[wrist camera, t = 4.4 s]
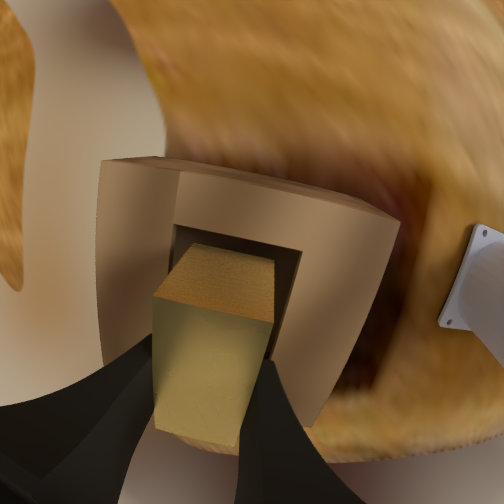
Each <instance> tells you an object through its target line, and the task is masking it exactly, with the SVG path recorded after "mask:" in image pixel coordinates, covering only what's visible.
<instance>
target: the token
mask: <svg viewBox="0 0 504 504" xmlns="http://www.w3.org/2000/svg"><path fill="white" fill-rule="evenodd" d="M273 324H274V260H272V259H267V258H262V257H258V256H253V255H248V254H244V253H239V252H234V251H230V250H225V249H220V248H216V247H211V246H206V245H202V244H197V243H193V244H192V245H191V246H190V248H189V249H188V250H187V251H186V253H185V254H184V255H183V257H182V258H181V259H180V260H179V262H178V263H177V264H176V266H175V267H174V268H173V270H172V271H171V272H170V274H169V275H168V276H167V277H166V279H165V280H164V281H163V283H162V284H161V285H160V287H159V288H158V289H157V291H156V292H155V293H154V295H153V314H152V374H153V401H154V418H155V428H156V429H160V430H163V431H167V432H170V433H174V434H177V435H181V436H185V437H189V438H193V439H197V440H202V441H206V442H211V443H216V444H221V445H226V446H231V447H234V446H235V443H236V440H237V437H238V434H239V431H240V428H241V425H242V422H243V419H244V416H245V413H246V410H247V407H248V404H249V401H250V398H251V395H252V392H253V389H254V386H255V383H256V380H257V376H258V373H259V370H260V367H261V364H262V360H263V357H264V354H265V351H266V347H267V344H268V341H269V337H270V334H271V331H272V327H273Z"/></svg>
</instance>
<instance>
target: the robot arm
mask: <svg viewBox="0 0 504 504" xmlns="http://www.w3.org/2000/svg"><path fill="white" fill-rule="evenodd" d="M483 231H484V234H483ZM482 234H483V235H482ZM448 320H449V322H448ZM438 324H439V325H440V326H441V327H445V328H453V329H461V330H469V331H473V333H474V334H475V335H476V336H477V337H478V338H479V339H480V340H481V342H482V343H483V344H484V345H485V346H486V347H487V349H488V350H489V351H490V352H491V353H492V354H493V356H494V357H495V358H496V359H497V361H498V362H499V363H500V364H501V365H502V367H503V368H504V234H503V233H500V232H498V231H496V230H494V229H492V228H489V227H487V226H485V225H482V224H480V223H478V224H476V225H475V226H474V228H473V232H472V235H471V238H470V241H469V244H468V247H467V250H466V253H465V256H464V259H463V261H462V264H461V267H460V269H459V272H458V275H457V277H456V280H455V282H454V285H453V287H452V289H451V292H450V294H449V296H448V299H447V301H446V303H445V305H444V308H443V310H442V312H441V314H440V316H439V318H438ZM153 411H154V401H153V374H152V333H151V334H149V335H147V336H146V337H145V338H144V339H142V340H141V341H140V342H138V343H137V344H136V345H134V346H133V347H132V348H130V349H129V350H128V351H126V352H125V353H123V354H122V355H121V356H119V357H118V358H116V359H115V360H113V361H112V362H110V363H109V364H107V365H106V366H104V367H103V368H101V369H99V370H98V371H96V372H94V373H93V374H91V375H89V376H88V377H86V378H84V379H82V380H80V381H78V382H76V383H74V384H72V385H70V386H68V387H66V388H63V389H61V390H59V391H56V392H53V393H51V394H48V395H45V396H42V397H39V398H36V399H33V400H29V401H25V402H21V403H17V404H12V405H7V406H0V504H118V500H119V496H120V493H121V489H122V486H123V483H124V479H125V476H126V473H127V470H128V467H129V464H130V461H131V458H132V455H133V453H134V451H135V448H136V446H137V444H138V442H139V440H140V438H141V436H142V434H143V432H144V430H145V428H146V426H147V424H148V422H149V420H150V418H151V415H152V413H153ZM238 470H239V471H238V483H237V489H236V496H235V503H234V504H366V503H365V502H364V501H362V500H361V499H360V498H359V497H358V496H357V495H356V494H355V493H354V492H353V491H351V490H350V489H349V488H348V487H347V486H346V485H345V483H344V482H343V481H342V480H341V479H340V478H339V477H338V476H337V475H336V474H335V472H334V471H333V470H332V469H331V468H330V467H329V466H328V464H327V463H326V462H325V460H324V459H323V458H322V457H321V455H320V454H319V452H318V451H317V450H316V448H315V447H314V445H313V444H312V442H311V441H310V439H309V438H308V436H307V434H306V433H305V431H304V429H303V427H302V426H301V424H300V422H299V420H298V418H297V416H296V415H295V413H294V411H293V408H292V406H291V404H290V402H289V400H288V398H287V395H286V393H285V390H284V388H283V385H282V383H281V380H280V377H279V374H278V371H277V368H276V364H275V363H274V361H272V360H267V359H263V360H262V364H261V367H260V370H259V373H258V376H257V380H256V383H255V386H254V389H253V392H252V395H251V398H250V401H249V404H248V407H247V410H246V413H245V416H244V419H243V422H242V425H241V428H240V441H239V469H238Z"/></svg>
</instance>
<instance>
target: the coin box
mask: <svg viewBox="0 0 504 504" xmlns="http://www.w3.org/2000/svg"><path fill="white" fill-rule="evenodd" d="M400 223H401V222H400V221H398V220H396V219H395V218H393V217H391V216H390V215H388V214H386V213H384V212H383V211H381V210H379V209H378V208H376V207H374V206H372V205H370V204H369V203H367V202H365V201H363V200H361V199H360V198H357V197H353V196H350V195H346V194H342V193H338V192H335V191H331V190H327V189H323V188H319V187H315V186H311V185H307V184H303V183H298V182H294V181H290V180H285V179H281V178H276V177H272V176H267V175H262V174H258V173H253V172H248V171H243V170H237V169H232V168H227V167H221V166H216V165H210V164H204V163H198V162H192V161H186V160H179V159H172V158H165V157H157V156H152V157H151V156H150V157H135V158H124V159H112V160H103V161H101V167H100V177H99V188H98V201H97V218H96V290H97V307H98V320H99V331H100V341H101V348H102V357H103V363H104V366H106V365H107V364H109V363H110V362H112V361H113V360H115V359H116V358H118V357H119V356H121V355H122V354H123V353H125V352H126V351H128V350H129V349H130V348H132V347H133V346H134V345H136V344H137V343H138V342H140V341H141V340H142V339H144V338H145V337H146V336H147V335H149V334H151V333H152V314H153V295H154V293H155V292H156V291H157V289H158V288H159V287H160V285H161V284H162V283H163V281H164V280H165V279H166V277H167V276H168V275H169V274H170V272H171V271H172V270H173V268H174V267H175V266H176V264H177V263H178V262H179V260H180V259H181V258H182V257H183V255H184V254H185V253H186V251H187V250H188V249H189V248H190V246H191V245H192V244H193V243H197V244H202V245H206V246H211V247H216V248H220V249H225V250H230V251H234V252H239V253H244V254H248V255H253V256H258V257H262V258H267V259H272V260H274V324H273V327H272V331H271V334H270V337H269V341H268V344H267V347H266V351H265V354H264V357H263V359H267V360H272V361H274V363H275V364H276V368H277V371H278V374H279V377H280V380H281V383H282V385H283V388H284V390H285V393H286V395H287V398H288V400H289V402H290V404H291V406H292V408H293V411H294V413H295V415H296V416H297V418H298V420H299V422H300V424H301V426H302V427H310V428H311V427H312V425H313V424H314V422H315V420H316V419H317V417H318V415H319V413H320V412H321V410H322V408H323V406H324V404H325V403H326V401H327V399H328V397H329V395H330V393H331V391H332V390H333V388H334V386H335V384H336V382H337V380H338V378H339V376H340V374H341V372H342V370H343V368H344V366H345V364H346V362H347V360H348V358H349V356H350V354H351V352H352V349H353V347H354V345H355V343H356V341H357V338H358V336H359V334H360V332H361V329H362V327H363V325H364V323H365V320H366V318H367V315H368V313H369V311H370V308H371V306H372V303H373V301H374V298H375V296H376V293H377V290H378V288H379V285H380V283H381V280H382V277H383V274H384V272H385V269H386V266H387V263H388V260H389V257H390V254H391V251H392V248H393V245H394V242H395V239H396V236H397V233H398V229H399V226H400Z"/></svg>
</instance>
